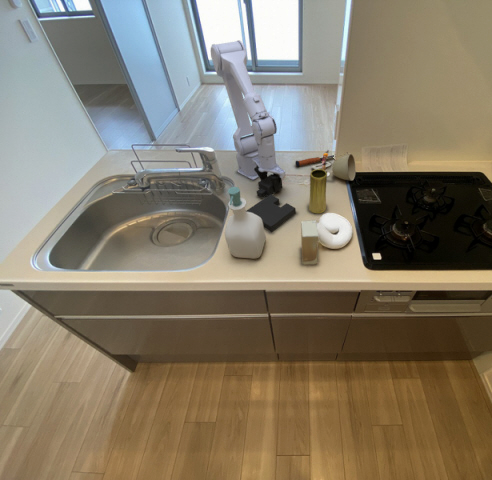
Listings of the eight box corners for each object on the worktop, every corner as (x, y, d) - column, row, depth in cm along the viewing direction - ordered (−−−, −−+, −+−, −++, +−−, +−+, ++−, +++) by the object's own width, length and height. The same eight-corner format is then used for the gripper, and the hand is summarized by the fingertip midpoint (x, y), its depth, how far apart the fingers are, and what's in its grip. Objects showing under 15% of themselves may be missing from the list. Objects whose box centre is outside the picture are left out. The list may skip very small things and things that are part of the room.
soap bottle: (229, 259, 84) (208, 201, 66) (238, 235, 90) (220, 176, 72) (261, 261, 83) (247, 204, 65) (267, 237, 89) (257, 178, 71)
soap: (326, 161, 121) (326, 159, 120) (333, 165, 118) (333, 163, 117) (309, 167, 116) (309, 165, 115) (316, 170, 113) (316, 168, 112)
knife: (353, 156, 122) (347, 154, 126) (352, 150, 121) (347, 148, 125) (298, 168, 115) (294, 166, 119) (297, 161, 114) (293, 159, 118)
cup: (334, 150, 110) (352, 148, 107) (340, 171, 117) (357, 170, 114) (327, 165, 105) (346, 163, 101) (334, 186, 111) (351, 185, 108)
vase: (328, 204, 100) (330, 170, 90) (323, 215, 96) (325, 180, 86) (311, 201, 102) (312, 166, 91) (306, 211, 98) (306, 176, 88)
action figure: (323, 164, 118) (323, 143, 111) (329, 164, 118) (330, 144, 111) (318, 181, 111) (318, 160, 103) (325, 181, 110) (326, 161, 103)
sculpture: (354, 221, 94) (357, 203, 88) (348, 255, 84) (351, 236, 78) (319, 216, 96) (320, 197, 90) (309, 247, 86) (309, 229, 80)
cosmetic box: (301, 249, 86) (300, 219, 77) (315, 248, 86) (316, 219, 77) (302, 265, 81) (301, 236, 73) (317, 265, 82) (318, 235, 73)
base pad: (246, 216, 96) (245, 211, 94) (271, 199, 103) (270, 194, 101) (271, 232, 91) (270, 226, 89) (295, 213, 97) (295, 207, 95)
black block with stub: (254, 194, 104) (252, 185, 101) (272, 182, 109) (271, 173, 106) (264, 200, 102) (263, 191, 99) (282, 188, 107) (281, 179, 104)
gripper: (243, 151, 96) (249, 184, 106) (274, 165, 90) (277, 199, 100) (258, 143, 100) (262, 175, 110) (288, 157, 94) (290, 190, 104)
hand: (270, 186), depth 105 cm, fingers closed on black block with stub, 5 cm apart
